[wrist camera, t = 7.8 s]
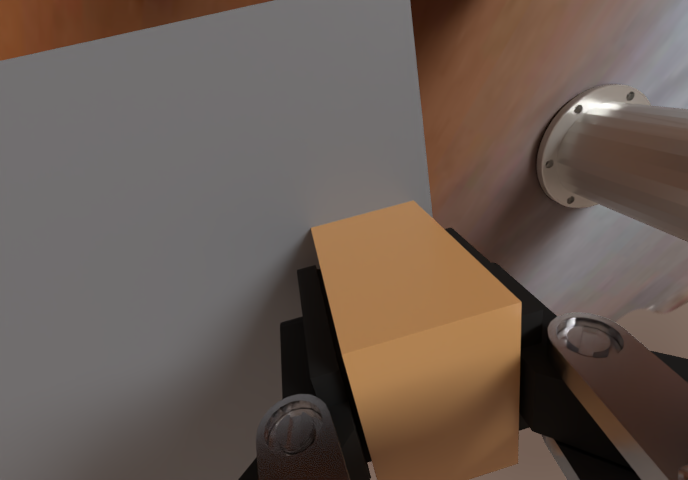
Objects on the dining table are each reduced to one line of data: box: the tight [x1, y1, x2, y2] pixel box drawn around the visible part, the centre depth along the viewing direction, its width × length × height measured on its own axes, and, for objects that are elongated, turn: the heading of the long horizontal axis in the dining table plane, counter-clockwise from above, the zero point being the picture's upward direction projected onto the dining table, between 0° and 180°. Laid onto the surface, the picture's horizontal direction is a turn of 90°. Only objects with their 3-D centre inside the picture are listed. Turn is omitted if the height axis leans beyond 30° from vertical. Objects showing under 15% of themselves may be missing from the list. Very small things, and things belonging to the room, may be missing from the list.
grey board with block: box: [0, 0, 522, 480], centre depth 9 cm, size 19×15×7 cm
